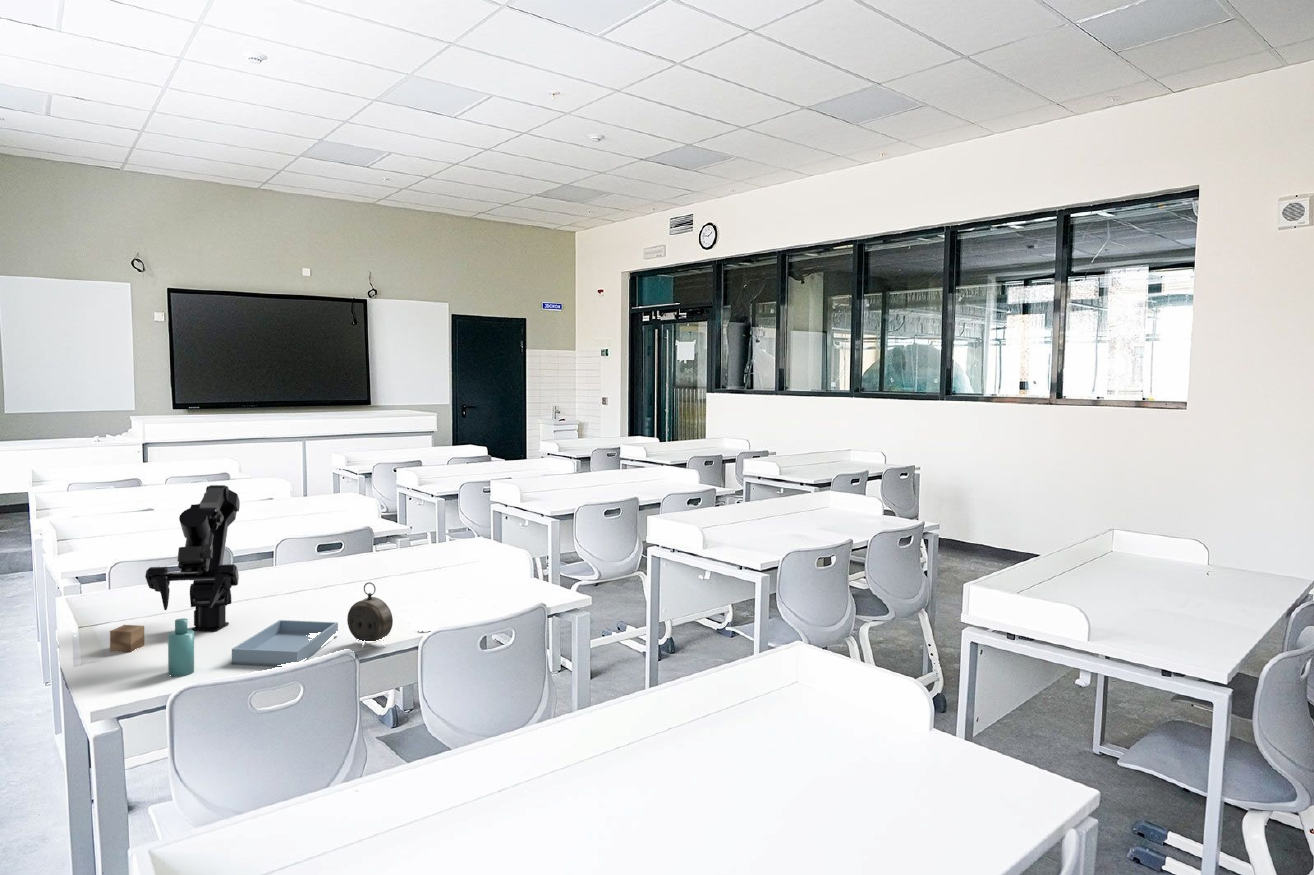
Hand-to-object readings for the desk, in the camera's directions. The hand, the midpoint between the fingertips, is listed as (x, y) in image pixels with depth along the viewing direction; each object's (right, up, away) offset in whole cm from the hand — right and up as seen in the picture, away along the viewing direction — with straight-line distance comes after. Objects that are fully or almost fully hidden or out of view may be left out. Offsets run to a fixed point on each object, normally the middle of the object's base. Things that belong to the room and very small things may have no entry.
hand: (187, 608), depth 188 cm
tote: (+17, -13, +12) cm, 25 cm away
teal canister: (+2, -13, -6) cm, 14 cm away
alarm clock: (+36, -13, +17) cm, 42 cm away
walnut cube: (-20, -12, +9) cm, 24 cm away
